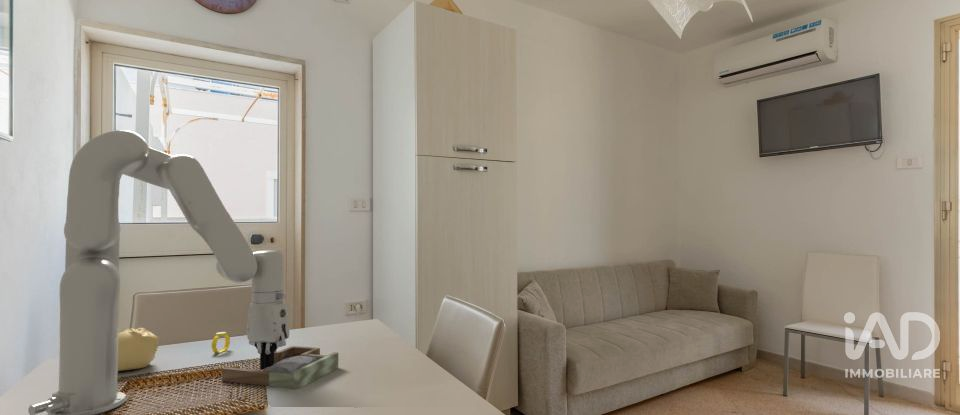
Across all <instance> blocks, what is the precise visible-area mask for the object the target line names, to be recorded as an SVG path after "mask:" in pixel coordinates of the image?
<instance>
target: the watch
mask: <svg viewBox="0 0 960 415" xmlns="http://www.w3.org/2000/svg"><path fill="white" fill-rule="evenodd" d="M221 336H223V337H224V339H225V343H224V346H223V348H222V349H221V350H218V349H217V342H218V340H219V338H220V337H221ZM230 338H231V337H230V336H229V334H228V333H227V331H221V332H220V331H219V332H216V333H215V336H214V337H213V339H212V342H211V349H212V352H213V353H214V354H221V353H223V352H227V350H228V349H229V347H230V344H231V340H230Z"/></svg>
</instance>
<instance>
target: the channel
mask: <svg viewBox="0 0 960 415" xmlns="http://www.w3.org/2000/svg"><path fill="white" fill-rule="evenodd" d="M294 356H307V357H316V359H317V361H315V362H312V363H310V364H308V365H306V366H304V367H302V368H300V369H297V370H295V371H294V373H283V372H272V371H264V370H261V369H260V370H259V369H250V368H239V367H229V366H228V367H227V366H226V367H223V368H222V367H221V381H222V382H228V383H229V382H230V383H237V384H250V385H260V386H267V387H268V386H269V387H278V388H286V389H287V388H288V389H295V390H298V389H301V388H303V387H304V386H306V385H308V384H310V383H312V382H314V381H315V380H318V379H320V378H322V377H323V376H325V375H327V374H328V373H330V372H333V371H335V370H337V369H338V368H339V352H338V351H337V352H335V351H334V352H332V353H330V354H327V355H326V354H325V355H324V354H321V348H320V347H312V346H309V347H308V346H299V345H298V346H297V345H291V346H288V347H286V348H284V349H281V350H279V351H277V350H276V352H274V364H275V363H277V362H279V361H281V360H283V359H286V358H290V357H294Z"/></svg>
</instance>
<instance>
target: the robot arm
mask: <svg viewBox="0 0 960 415" xmlns="http://www.w3.org/2000/svg"><path fill="white" fill-rule="evenodd" d="M123 175H125V176H128V177H130V178H133V179H135V180H138V181H141V182H143V183H147V184H150V185H153V186H157V187H159V188H162V189H166V190H168V191H169V192H170V194H171V196H172V197H173V198H174V201H175V202H176V204H177V205H178V207H179V209H180V211H181V212H182V214H183V216H184V218H185V220H186V221H187V223H188V225H189V226H190V227H191V228H192V229H193V231H195V233H197V234H198V236H200V237H201V238H202V240H204V242H205V243H206V244H207V246H208V247H209V248H210V250H211V252H212V253H213V254H214V257H215V258H216V260H217V261H216V265H215V266H216V271H217V273H218V274H219V276H221V277H222V278H223V279H225V280H228V281H230V282H233V283H239V284H240V283H246V282H248V281H250V280H251V303H250V304H249V307H248V311H247V313H248V314H247V320H246V322H247V323H246V337H247V339H248V345H251V346H253V347H255V348H256V349H257V353H258V354H259V367H260V368H259V369H260V370H262V371H264V369H265V368H267V367H270V366H273V365H274V352H276V351H277V350H278V349H279V348H282V347H284V346H286V345H287V341H286V340H287V339H289V338H290V321H289V320H290V318H289V311H288V307H287V306H288V305H287V302H286V301H284V300H285V299H286V298H287V295H286V293H284V255H283V252H281V251H280V250H257V251H252V249H251V246H250V245H249V243H248V241H247V240H246V238H245V236H244V235H243V233H242V231H241V230H240V228H239V227H238V225H237V223H235V221H234V220H233V218H232V216H231V215H230V213H229V212H228V211H227V208H226V207H225V206H224V204H223V202H222V200H221V199H220V196H219V195H218V193H217V191H216V189H215V188H214V186H213V184H212V182H211V181H210V179H209V177H208V175H207V173H206V171H205V169H204V168H203V166H202V165H201V163H200V162H199V160H197V159H196V158H195V157H193V156H191V155H188V154H182V153H181V154H175V155H171V154H169V153H166V152H164V151H161V150H158V149H155V148H153V147H150V146H149V145H148V142H147V141H146V140H145V138H143V137H142V136H141V135H140V134H139V133H137V132H134V131H131V130H127V129H118V130H117V129H116V130H111V131H107V132H104V133H102V134H99V135H97V136H94V137H93V138H91V139H90V140H88V141H87V142H86V143H84V144H83V145H82V147H80V149H79V150H78V151H77V153H76V154H75V155H74V158H73V160H72V162H71V164H70V169H69V174H68V186H67V197H66V213H65V214H66V215H65V223H64V227H63V235H64V238H65V257H64V258H65V260H64V261H65V263H64V268H65V269H64V272H63V274H62V276H61V279H60V282H59V358H58V360H59V364H58V365H59V366H58V370H59V371H58V391H55V392H52V393H51V394H52V396H51V397H50V398H48V399H47V400H45V401H43V402H37V403H35V404H32V405H30V406H29V407H28V410H27V411H28V414H29V415H38V414H40V413H44V412H46V413H47V415H98V414H103V413H106V412H108V411H111V410H113V409H115V408H118V407H119V406H122V405H123V404H125V402H126V400H127V394H126V393H124V392H120V391H118V373H119V371H118V333H119V312H120V310H119V308H120V292H121V290H120V289H121V277H120V239H121V238H120V236H121V225H120V221H119V199H120V198H119V197H120V184H121V180H122V176H123Z"/></svg>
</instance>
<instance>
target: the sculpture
mask: <svg viewBox="0 0 960 415" xmlns="http://www.w3.org/2000/svg"><path fill="white" fill-rule="evenodd" d="M159 342H160V340H159V337H158V336H157V335H155V334H154V333H153V332H151V331H149V330H147V329H146V328H145V327H138V328H133V327H131V328H125V329H124V331H120V332H118V372H120V371H121V372H122V371H130V370H138V369H143V368H146V367H148V366H149V364H150V363H151V362H152V361H154V359H155V358H156V352H157V351H158V347H159Z"/></svg>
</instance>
